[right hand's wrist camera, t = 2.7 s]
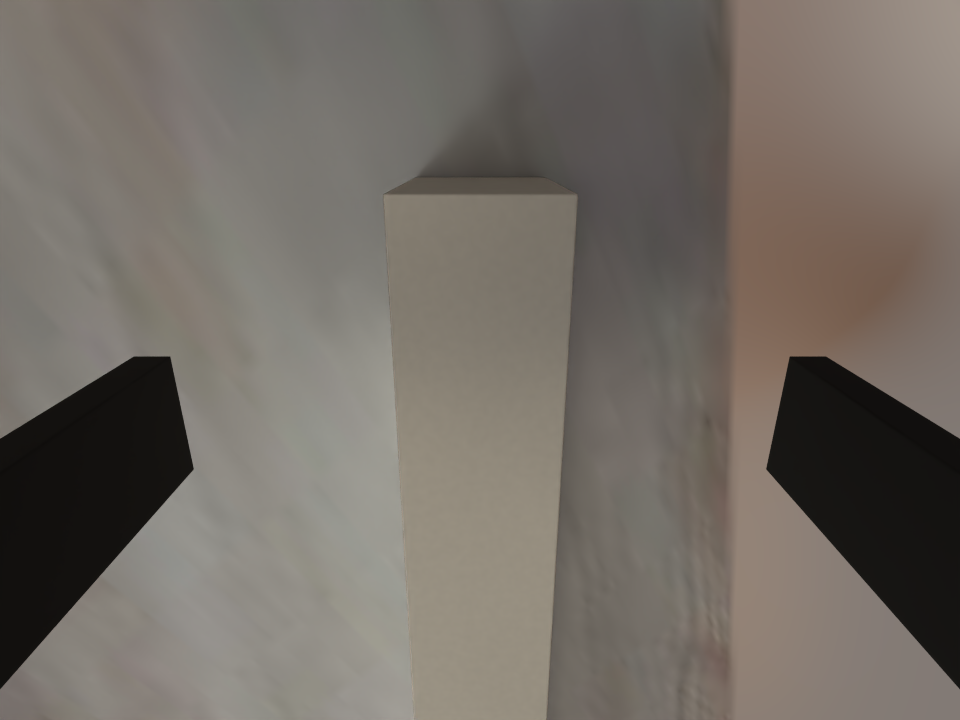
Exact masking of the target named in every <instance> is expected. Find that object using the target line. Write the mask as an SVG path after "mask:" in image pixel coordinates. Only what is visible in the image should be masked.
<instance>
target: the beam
mask: <svg viewBox="0 0 960 720" xmlns="http://www.w3.org/2000/svg"><path fill="white" fill-rule="evenodd" d="M383 201H384V218H385V235H386V252H387V269H388V286H389V303H390V320H391V337H392V354H393V371H394V388H395V405H396V422H397V439H398V456H399V473H400V490H401V506H402V523H403V540H404V557H405V574H406V591H407V608H408V625H409V642H410V659H411V676H412V693H413V710H414V720H547V707H548V690H549V674H550V657H551V640H552V623H553V607H554V590H555V573H556V556H557V539H558V523H559V506H560V489H561V472H562V455H563V439H564V422H565V405H566V388H567V372H568V355H569V338H570V321H571V304H572V288H573V271H574V254H575V237H576V220H577V204H578V195H577V194H576V193H574V192H572V191H570V190H568V189H566V188H564V187H562V186H561V185H559V184H557V183H555V182H553V181H551V180H549V179H547V178H545V177H416V178H414V179H412V180H410V181H408V182H406V183H404V184H402V185H400V186H398V187H397V188H395V189H393V190H391V191H389V192H387V193H385V194H384V195H383Z"/></svg>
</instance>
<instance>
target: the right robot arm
mask: <svg viewBox="0 0 960 720" xmlns="http://www.w3.org/2000/svg"><path fill="white" fill-rule="evenodd" d="M193 469H194V468H193V463H192V459H191V454H190V449H189V444H188V439H187V435H186V430H185V425H184V420H183V416H182V411H181V406H180V401H179V396H178V392H177V387H176V382H175V377H174V373H173V368H172V363H171V358H170V357H133V358H131V359H129V360H128V361H126V362H124V363H123V364H121V365H120V366H118V367H116V368H115V369H113V370H111V371H110V372H108V373H107V374H105V375H103V376H102V377H100V378H98V379H97V380H95V381H93V382H92V383H90V384H89V385H87V386H85V387H84V388H82V389H80V390H79V391H77V392H76V393H74V394H72V395H71V396H69V397H67V398H66V399H64V400H63V401H61V402H59V403H58V404H56V405H54V406H53V407H51V408H50V409H48V410H46V411H45V412H43V413H41V414H40V415H38V416H37V417H35V418H33V419H32V420H30V421H28V422H27V423H25V424H24V425H22V426H20V427H19V428H17V429H15V430H14V431H12V432H11V433H9V434H7V435H6V436H4V437H2V438H1V439H0V689H1V688H2V686H3V685H4V684H5V683H6V682H7V681H8V680H9V678H10V677H11V676H12V675H13V674H14V673H15V672H16V671H17V669H18V668H19V667H20V666H21V665H22V664H23V663H24V661H25V660H26V659H27V658H28V657H29V656H30V655H31V653H32V652H33V651H34V650H35V649H36V648H37V647H38V646H39V644H40V643H41V642H42V641H43V640H44V639H45V638H46V636H47V635H48V634H49V633H50V632H51V631H52V630H53V628H54V627H55V626H56V625H57V624H58V623H59V622H60V621H61V619H62V618H63V617H64V616H65V615H66V614H67V613H68V611H69V610H70V609H71V608H72V607H73V606H74V605H75V603H76V602H77V601H78V600H79V599H80V598H81V597H82V596H83V594H84V593H85V592H86V591H87V590H88V589H89V588H90V586H91V585H92V584H93V583H94V582H95V581H96V580H97V579H98V577H99V576H100V575H101V574H102V573H103V572H104V571H105V569H106V568H107V567H108V566H109V565H110V564H111V563H112V561H113V560H114V559H115V558H116V557H117V556H118V555H119V554H120V552H121V551H122V550H123V549H124V548H125V547H126V546H127V544H128V543H129V542H130V541H131V540H132V539H133V538H134V536H135V535H136V534H137V533H138V532H139V531H140V530H141V529H142V527H143V526H144V525H145V524H146V523H147V522H148V521H149V519H150V518H151V517H152V516H153V515H154V514H155V513H156V511H157V510H158V509H159V508H160V507H161V506H162V505H163V504H164V502H165V501H166V500H167V499H168V498H169V497H170V496H171V494H172V493H173V492H174V491H175V490H176V489H177V488H178V486H179V485H180V484H181V483H182V482H183V481H184V480H185V479H186V477H187V476H188V475H189V474H190V473H191V472H192V471H193ZM766 469H767V471H768V472H769V473H770V474H771V475H772V476H773V477H774V479H775V480H776V481H777V482H778V483H779V484H780V485H781V486H782V488H783V489H784V490H785V491H786V492H787V493H788V494H789V496H790V497H791V498H792V499H793V500H794V501H795V502H796V504H797V505H798V506H799V507H800V508H801V509H802V510H803V511H804V513H805V514H806V515H807V516H808V517H809V518H810V519H811V520H812V522H813V523H814V524H815V525H816V526H817V527H818V529H819V530H820V531H821V532H822V533H823V534H824V535H825V536H826V538H827V539H828V540H829V541H830V542H831V543H832V544H833V546H834V547H835V548H836V549H837V550H838V551H839V552H840V553H841V555H842V556H843V557H844V558H845V559H846V560H847V561H848V563H849V564H850V565H851V566H852V567H853V568H854V569H855V571H856V572H857V573H858V574H859V575H860V576H861V577H862V578H863V580H864V581H865V582H866V583H867V584H868V585H869V586H870V588H871V589H872V590H873V591H874V592H875V593H876V594H877V596H878V597H879V598H880V599H881V600H882V601H883V602H884V603H885V605H886V606H887V607H888V608H889V609H890V610H891V611H892V613H893V614H894V615H895V616H896V617H897V618H898V619H899V620H900V622H901V623H902V624H903V625H904V626H905V627H906V628H907V630H908V631H909V632H910V633H911V634H912V635H913V636H914V638H915V639H916V640H917V641H918V642H919V643H920V644H921V646H922V647H923V648H924V649H925V650H926V651H927V652H928V653H929V655H930V656H931V657H932V658H933V659H934V660H935V661H936V663H937V664H938V665H939V666H940V667H941V668H942V669H943V671H944V672H945V673H946V674H947V675H948V676H949V677H950V678H951V680H952V681H953V682H954V683H955V684H956V685H957V686H958V688H959V689H960V439H959V438H958V437H956V436H954V435H953V434H951V433H949V432H948V431H946V430H945V429H943V428H941V427H940V426H938V425H936V424H935V423H933V422H932V421H930V420H928V419H927V418H925V417H923V416H922V415H920V414H919V413H917V412H915V411H914V410H912V409H910V408H909V407H907V406H906V405H904V404H902V403H901V402H899V401H897V400H896V399H894V398H893V397H891V396H889V395H888V394H886V393H884V392H883V391H881V390H879V389H878V388H876V387H875V386H873V385H871V384H870V383H868V382H866V381H865V380H863V379H862V378H860V377H858V376H857V375H855V374H853V373H852V372H850V371H849V370H847V369H845V368H844V367H842V366H840V365H839V364H837V363H836V362H834V361H832V360H831V359H829V358H827V357H790V358H789V363H788V368H787V372H786V377H785V382H784V387H783V392H782V397H781V401H780V406H779V411H778V416H777V420H776V425H775V430H774V435H773V440H772V444H771V449H770V454H769V459H768V463H767V468H766Z"/></svg>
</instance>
